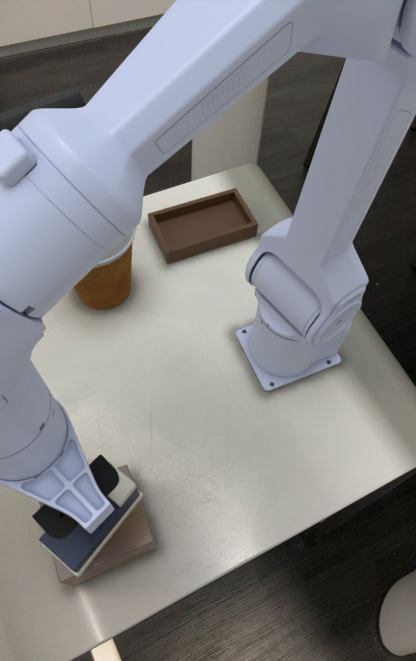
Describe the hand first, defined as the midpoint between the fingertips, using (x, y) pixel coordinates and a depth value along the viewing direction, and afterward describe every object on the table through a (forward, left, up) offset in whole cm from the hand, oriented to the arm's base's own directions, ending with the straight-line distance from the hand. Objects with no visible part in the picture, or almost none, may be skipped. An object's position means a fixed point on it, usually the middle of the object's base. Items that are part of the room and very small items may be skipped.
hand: (54, 472), depth 41 cm
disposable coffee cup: (-10, -22, -10) cm, 26 cm away
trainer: (-1, +4, -5) cm, 6 cm away
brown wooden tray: (-24, -26, -10) cm, 37 cm away
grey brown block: (-1, +4, -10) cm, 11 cm away
